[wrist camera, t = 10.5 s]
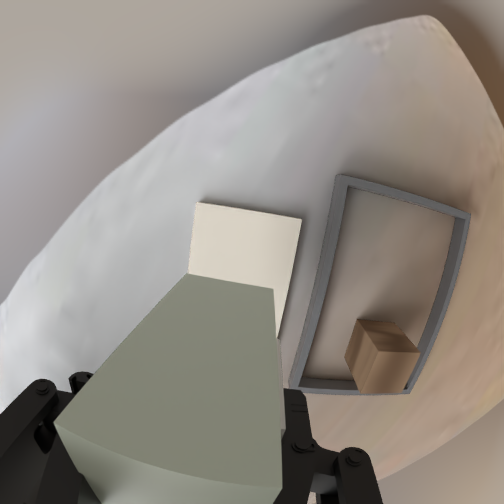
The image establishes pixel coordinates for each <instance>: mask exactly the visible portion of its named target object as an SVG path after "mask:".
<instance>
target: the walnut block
mask: <svg viewBox="0 0 504 504" xmlns="http://www.w3.org/2000/svg"><path fill="white" fill-rule="evenodd" d="M420 354H421V352H420V351H419V350H418V349H417V348H416V347H415V345H414V344H413V343H412V342H411V341H410V340H409V339H408V337H407V336H406V335H405V334H404V333H403V332H402V331H401V330H400V329H399V327H398V326H397V325H396V324H395V323H391V322H381V321H371V320H361V319H357V321H356V324H355V327H354V330H353V333H352V336H351V339H350V342H349V345H348V348H347V350H346V353H345V356H344V357H345V360H346V362H347V364H348V366H349V369H350V371H351V373H352V376H353V378H354V380H355V383H356V385H357V387H358V390H359V392H360V394H381V393H402V391H403V389H404V387H405V385H406V383H407V381H408V379H409V377H410V375H411V373H412V371H413V369H414V367H415V365H416V362H417V360H418V358H419V356H420Z"/></svg>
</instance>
